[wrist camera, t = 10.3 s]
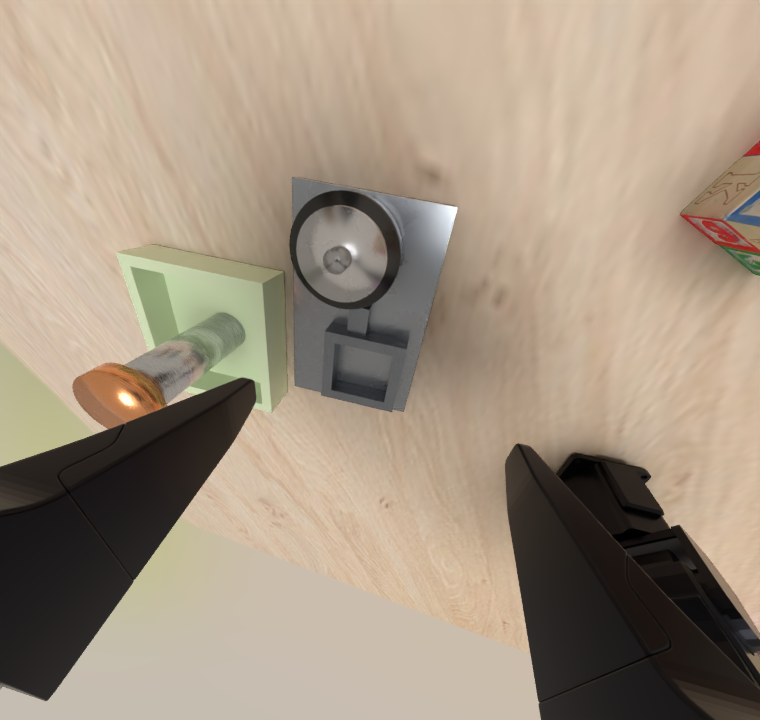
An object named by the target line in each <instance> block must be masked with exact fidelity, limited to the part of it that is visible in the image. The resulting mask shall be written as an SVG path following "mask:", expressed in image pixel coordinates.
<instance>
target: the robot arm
mask: <svg viewBox="0 0 760 720" xmlns="http://www.w3.org/2000/svg"><path fill="white" fill-rule="evenodd" d="M255 403H256V388H255V382H254V380H252V379H248V378H244V377H241V378H238V379H236V380H233V381H231V382H228V383H225V384H223V385H220V386H218V387H215V388H213V389H210V390H208V391H205V392H203V393H200V394H197V395H195V396H192V397H190V398H187V399H185V400H182V401H180V402H177V403H175V404H172V405H169V406H167V407H164V408H162V409H159V410H157V411H154V412H152V413H149V414H146V415H144V416H141V417H139V418H136V419H134V420H131V421H129V422H126V424H121V425H118V426H116V427H113V428H111V429H108V430H105V431H103V432H100V433H97V434H95V435H92V436H89V437H87V438H84V439H81V440H78V441H75V442H73V443H70V444H67V445H64V446H61V447H58V448H55V449H52V450H50V451H46V452H44V453H40V454H37V455H34V456H31V457H28V458H25V459H22V460H19V461H16V462H13V463H10V464H7V465H4V466H1V467H0V689H1V688H2V687H6V688H9V689H12V690H15V691H18V692H20V693H23V694H26V695H29V696H32V697H35V698H38V699H41V700H44V701H47V700H48V699H49V698H50V697H51V696H52V695H53V693H54V692H55V691H56V689H57V688H58V687H59V685H60V684H61V683H62V681H63V679H64V678H65V677H66V676H67V674H68V673H69V671H70V670H71V669H72V667H73V666H74V664H75V663H76V661H77V660H78V659H79V657H80V656H81V655H82V653H83V652H84V650H85V649H86V648H87V646H88V645H89V643H90V642H91V641H92V639H93V638H94V636H95V635H96V634H97V632H98V631H99V629H100V628H101V627H102V625H103V624H104V622H105V621H106V620H107V618H108V617H109V616H110V614H111V613H112V611H113V610H114V608H115V607H116V606H117V604H118V603H119V601H120V600H121V599H122V597H123V596H124V594H125V593H126V592H127V590H128V589H129V588H130V586H131V585H132V583H133V580H134V579H136V577H137V576H138V575H139V573H140V572H141V570H142V569H143V568H144V566H145V565H146V564H147V562H148V560H149V559H150V558H151V556H152V555H153V554H154V552H155V551H156V550H157V548H158V547H159V545H160V544H161V542H162V541H163V540H164V538H165V537H166V536H167V534H168V533H169V531H170V530H171V529H172V527H173V526H174V524H175V523H176V522H177V520H178V519H179V517H180V516H181V515H182V513H183V512H184V510H185V509H186V508H187V506H188V505H189V503H190V502H191V501H192V499H193V498H194V496H195V495H196V494H197V492H198V491H199V490H200V488H201V487H202V485H203V484H204V483H205V481H206V480H207V478H208V477H209V476H210V474H211V473H212V471H213V470H214V469H215V467H216V466H217V464H218V463H219V462H220V460H221V459H222V457H223V456H224V455H225V453H226V452H227V450H228V449H229V448H230V446H231V445H232V443H233V442H234V440H235V439H236V437H237V435H238V433H239V432H240V430H241V428H242V426H243V425H244V423H245V421H246V419H247V417H248V416H249V414H250V412H251V410H252V409H253V407H254V405H255ZM505 474H506V494H507V511H508V518H509V525H510V531H511V537H512V543H513V549H514V555H515V561H516V568H517V574H518V580H519V586H520V592H521V598H522V604H523V610H524V617H525V623H526V629H527V635H528V641H529V647H530V653H531V658H532V665H533V672H534V678H535V684H536V690H537V696H538V701H539V702H540V703H539V710H540V716H541V720H760V657H759V656H758V654H760V633H759V631H758V630H757V628H756V626H755V625H754V623H753V622H752V620H751V618H750V617H749V615H748V613H747V612H746V610H745V609H744V607H743V605H742V604H741V602H740V601H739V599H738V597H737V596H736V594H735V593H734V592H733V590H732V589H731V588H730V586H729V585H728V584H727V582H726V581H725V580H724V578H723V577H722V575H721V574H720V573H719V571H718V570H717V569H716V567H715V566H714V565H713V563H712V562H711V561H710V559H709V558H708V557H707V556H706V554H705V553H704V552H703V551H702V550H701V549H700V548H699V546H698V545H697V544H696V543H695V542H694V541H693V540H692V538H691V537H690V536H689V535H688V534H687V533H686V532H685V530H684V529H683V528H682V527H681V526H680V525H676V526H672V527H671V529H670V527H669V526H668V524H667V523H666V522H665V520H664V519H663V517H662V516H663V515H664V512H663V510H662V508H661V507H660V505H659V504H658V502H657V501H656V500H655V498H654V497H653V495H652V494H651V492H650V491H649V489H648V488H647V486H646V485H645V483H646V482H647V481H648V480H649V479H650V478H651V475H650V474H649V473H648V471H646V470H643V469H639V468H635V467H631V466H627V465H622V464H618V463H614V462H610V461H606V460H602V459H597V458H593V457H589V456H585V455H581V454H574V455H572V456H571V457H570V458H569V459H568V461H567V462H566V463H565V465H564V466H563V467H562V468H561V470H560V471H559V472H558V474H557V475H556V474H555V473H554V472H553V471H552V469H551V468H550V467H549V466H548V465H547V464H546V463H545V462H544V461H543V460H542V458H541V457H540V456H539V455H538V454H537V453H536V452H535V451H534V450H533V449H532V448H531V447H530V446H527V445H523V444H516V445H515V446H514V447H513V449H512V451H511V452H510V454H509V456H508V457H507V459H506V463H505ZM757 653H758V654H757Z"/></svg>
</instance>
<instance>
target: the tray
mask: <svg viewBox="0 0 760 720" xmlns="http://www.w3.org/2000/svg"><path fill="white" fill-rule="evenodd" d="M116 255H117V258H118V261H119V264H120V267H121V270H122V273H123V276H124V279H125V282H126V285H127V288H128V291H129V294H130V297H131V300H132V303H133V306H134V309H135V312H136V315H137V318H138V321H139V324H140V327H141V330H142V333H143V336H144V339H145V342H146V345H147V348H148V351H150V350H152V349H154V348H156V347H157V346H159V345H161V344H163V343H164V342H166V341H168V340H170V339H171V338H173V337H175V336H177V335H179V334H180V333H182V332H184V331H186V330H187V329H189V328H191V327H193V326H194V325H196V324H198V323H200V322H201V321H203V320H205V319H207V318H209V317H210V316H212V315H214V314H216V313H219V312H223V313H228V314H230V315H232V316H234V317H235V318H236V319H237V320H238V321H239V322H240V323H241V324H242V326H243V328H244V330H245V334H246V337H245V341H244V343H243V344H242V345H240V346H239V347H238V348H237V349H235V350H234V351H233V352H232V353H230V354H229V355H228V356H227V357H225V358H224V359H223V360H222V361H220V362H219V363H218V364H217V365H215V366H214V367H213V368H211V369H210V370H209V371H208V372H206V373H205V374H204V375H203V376H201V377H200V378H199V379H198V380H196V381H195V382H194V383H193V384H191V385H190V386H189V387H188V388H186V389H185V390H184V391H185V392H189V393H193V394H200V393H203V392H205V391H208V390H210V389H213V388H215V387H218V386H220V385H223V384H225V383H228V382H231V381H233V380H236V379H238V378H241V377H244V378H248V379H252V380H254V382H255V388H256V403H255V405H254V407H253V409H257V410H261V411H266V412H270V413H272V412H273V410H274V409H275V408H276V406H277V405H278V404H279V402H280V401H281V400H282V398H283V397H284V396H285V394H286V393H287V358H286V324H285V291H284V272H283V271H278V270H273V269H268V268H264V267H259V266H254V265H249V264H245V263H240V262H235V261H230V260H225V259H221V258H216V257H211V256H206V255H202V254H197V253H192V252H187V251H183V250H178V249H173V248H168V247H164V246H159V245H149V246H144V247H139V248H134V249H129V250H124V251H119V252H116Z"/></svg>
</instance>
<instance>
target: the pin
mask: <svg viewBox="0 0 760 720" xmlns="http://www.w3.org/2000/svg"><path fill="white" fill-rule="evenodd" d="M245 337H246V334H245V330H244V328H243V326H242V324H241V323H240V322H239V321H238V320H237V319H236V318H235V317H234V316H232V315H230V314H228V313H223V312H219V313H216V314H214V315H212V316H210V317H209V318H207V319H205V320H203V321H201V322H200V323H198V324H196V325H194V326H193V327H191V328H189V329H187V330H186V331H184V332H182V333H180V334H179V335H177V336H175V337H173V338H171V339H170V340H168V341H166V342H164V343H163V344H161V345H159V346H157V347H156V348H154V349H152V350H150V351H148V352H147V353H145V354H143V355H141V356H140V357H138V358H136V359H134V360H133V361H131V362H129V363H127V364H125V365H121V364H117V363H105V364H102V365H100V366H98V367H96V368H94V369H92V370H90V371H88V372H87V373H85V374H83V375H81V376H79V377H77V378H76V379H75V380H74V382H73V392H74V395H75V397H76V399H77V401H78V403H79V404H80V405H81V407H82V408H83V409H84V410H85V411H86V412H87V413H88V414H89V415H90V416H91V417H92V418H93V419H94V420H96V421H97V422H98V423H100V424H101V425H103V426H104V427H106V428H108V429H111V428H113V427H116V426H118V425H121V424H126V422H129V421H131V420H134V419H136V418H139V417H141V416H144V415H146V414H149V413H152V412H154V411H157V410H159V409H162V408H164V407H167V404H168V403H169V402H170V401H171V400H173V399H174V398H175V397H176V396H178V395H179V394H180V393H181V392H183V391H184V390H185V389H186V388H188V387H189V386H190V385H191V384H193V383H194V382H195V381H196V380H198V379H199V378H200V377H201V376H203V375H204V374H205V373H206V372H208V371H209V370H210V369H211V368H213V367H214V366H215V365H217V364H218V363H219V362H220V361H222V360H223V359H224V358H225V357H227V356H228V355H229V354H230V353H232V352H233V351H234V350H235V349H237V348H238V347H239V346H240V345H242V344H243V343H244V341H245Z"/></svg>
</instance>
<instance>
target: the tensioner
mask: <svg viewBox="0 0 760 720" xmlns="http://www.w3.org/2000/svg"><path fill="white" fill-rule="evenodd" d="M292 198H293V226H292V229H291V234H290V254H291V260H292V263H293V282H294V367H295V386H297V387H302V388H306V389H310V390H314V391H318V392H322V393H321V395H322V396H326V397H331V398H335V399H339V400H343V401H347V402H352V403H356V404H360V405H364V406H368V407H372V408H377V409H381V410H385V411H389V412H392V410H393V409H394V410H398V411H402V412H404V409H405V405H406V401H407V397H408V394H409V390H410V386H411V382H412V378H413V375H414V371H415V367H416V363H417V360H418V356H419V352H420V348H421V344H422V341H423V337H424V333H425V329H426V326H427V322H428V318H429V314H430V310H431V307H432V303H433V299H434V295H435V292H436V288H437V284H438V280H439V276H440V273H441V269H442V265H443V261H444V258H445V254H446V250H447V246H448V242H449V239H450V235H451V231H452V227H453V224H454V220H455V216H456V212H457V208H458V207H457V206H452V205H446V204H441V203H435V202H430V201H425V200H419V199H414V198H408V197H403V196H397V195H392V194H387V193H381V192H376V191H370V190H365V189H360V188H354V187H349V186H343V185H338V184H333V183H327V182H322V181H316V180H311V179H305V178H300V177H292Z"/></svg>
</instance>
